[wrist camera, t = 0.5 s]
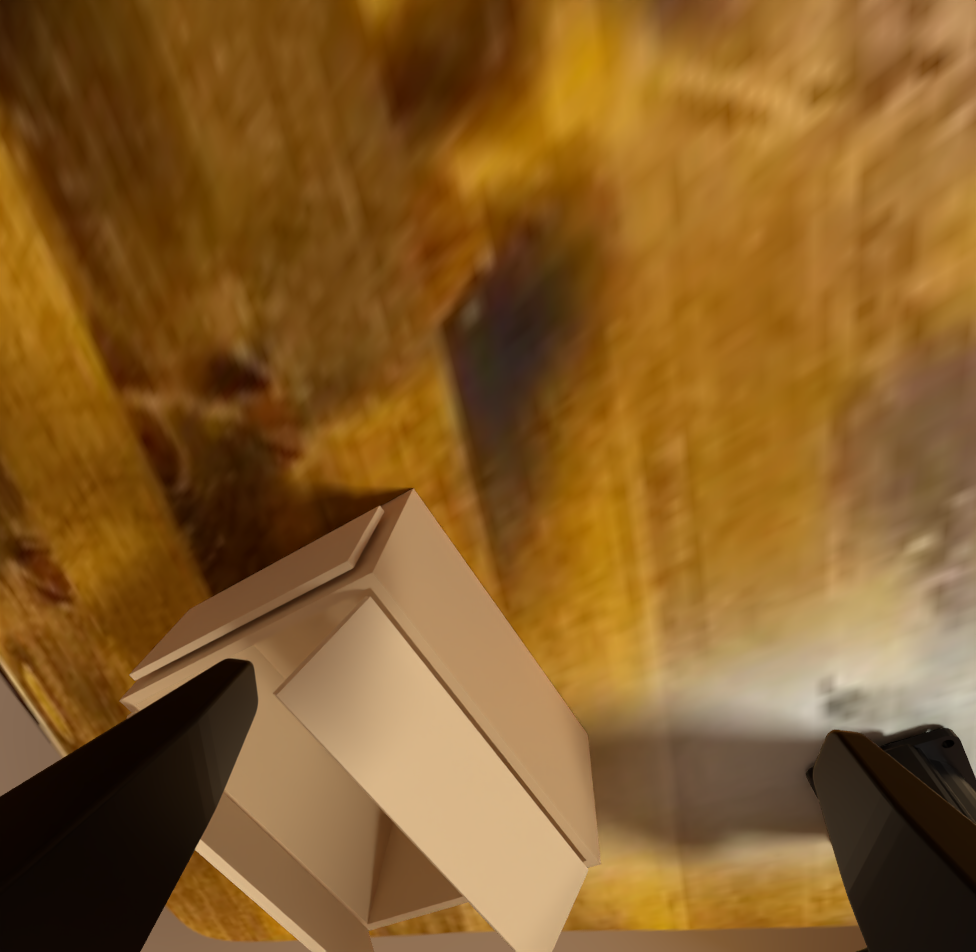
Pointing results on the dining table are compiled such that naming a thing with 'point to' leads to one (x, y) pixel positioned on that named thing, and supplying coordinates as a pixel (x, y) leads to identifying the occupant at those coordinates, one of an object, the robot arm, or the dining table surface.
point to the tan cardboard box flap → (435, 777)
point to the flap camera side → (279, 882)
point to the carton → (446, 653)
